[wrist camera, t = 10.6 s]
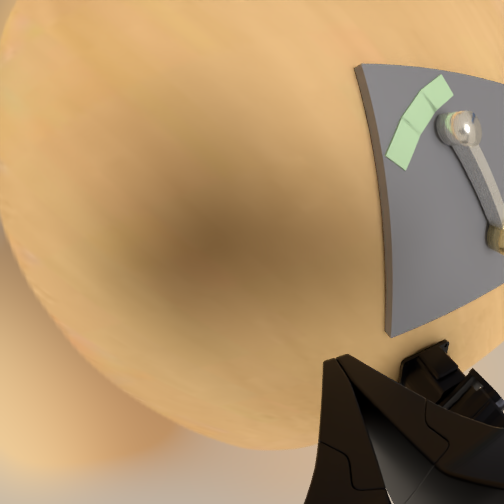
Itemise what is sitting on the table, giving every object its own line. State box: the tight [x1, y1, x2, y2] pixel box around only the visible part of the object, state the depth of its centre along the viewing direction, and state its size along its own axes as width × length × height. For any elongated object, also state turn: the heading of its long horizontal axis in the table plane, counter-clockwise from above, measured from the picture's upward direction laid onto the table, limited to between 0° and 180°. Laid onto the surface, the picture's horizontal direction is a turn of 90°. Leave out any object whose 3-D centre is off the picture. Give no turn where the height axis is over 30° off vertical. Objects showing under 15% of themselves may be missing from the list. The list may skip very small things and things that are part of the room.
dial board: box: [354, 64, 504, 338], centre depth 19 cm, size 22×24×1 cm
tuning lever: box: [437, 111, 504, 255], centre depth 16 cm, size 15×4×3 cm, turn 47°
